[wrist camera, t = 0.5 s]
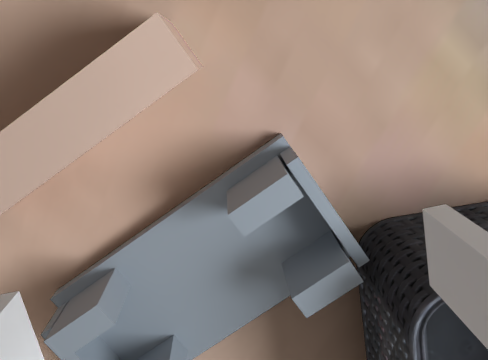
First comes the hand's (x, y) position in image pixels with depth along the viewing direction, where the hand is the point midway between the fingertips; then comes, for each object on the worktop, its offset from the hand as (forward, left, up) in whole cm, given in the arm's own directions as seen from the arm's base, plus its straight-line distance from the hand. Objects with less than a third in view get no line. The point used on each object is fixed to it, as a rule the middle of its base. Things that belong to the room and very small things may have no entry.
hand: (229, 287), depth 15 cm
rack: (+8, -8, -24) cm, 27 cm away
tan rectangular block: (-8, -8, -24) cm, 27 cm away
